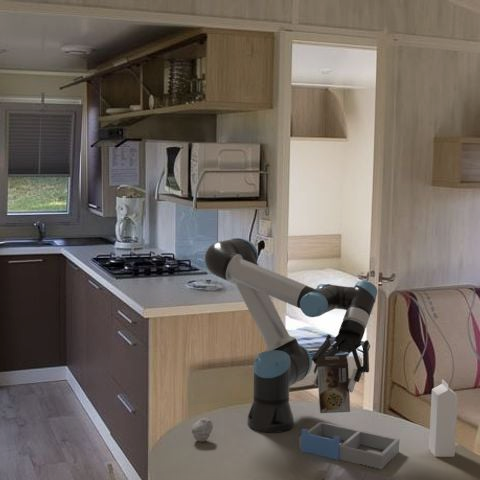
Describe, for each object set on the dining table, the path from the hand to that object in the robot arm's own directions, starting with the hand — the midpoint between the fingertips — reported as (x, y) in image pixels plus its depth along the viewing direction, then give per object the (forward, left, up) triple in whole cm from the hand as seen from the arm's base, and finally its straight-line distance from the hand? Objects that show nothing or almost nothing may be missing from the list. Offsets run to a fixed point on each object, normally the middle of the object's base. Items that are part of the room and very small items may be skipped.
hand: (332, 386), depth 222 cm
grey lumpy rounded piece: (-36, -15, -20) cm, 44 cm away
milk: (+29, +17, -20) cm, 39 cm away
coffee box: (0, +3, -7) cm, 8 cm away
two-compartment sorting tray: (+5, +3, -20) cm, 20 cm away
